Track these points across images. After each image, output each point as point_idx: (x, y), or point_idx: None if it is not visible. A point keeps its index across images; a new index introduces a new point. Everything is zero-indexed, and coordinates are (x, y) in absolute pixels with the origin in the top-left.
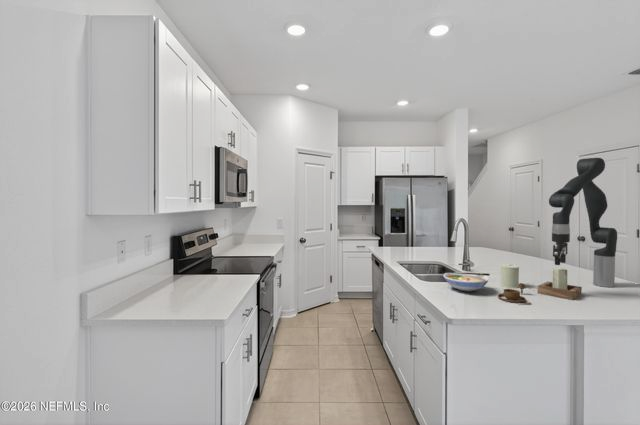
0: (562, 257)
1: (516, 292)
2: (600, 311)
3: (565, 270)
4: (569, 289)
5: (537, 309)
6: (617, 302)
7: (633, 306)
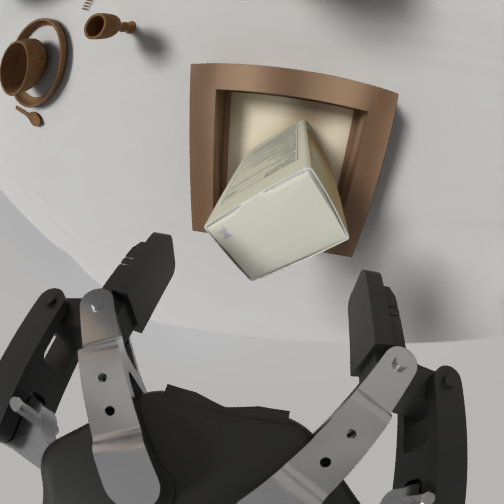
0: (362, 338)
1: (33, 68)
2: None
3: (241, 266)
4: (341, 199)
5: (23, 157)
6: (297, 316)
7: (275, 337)
